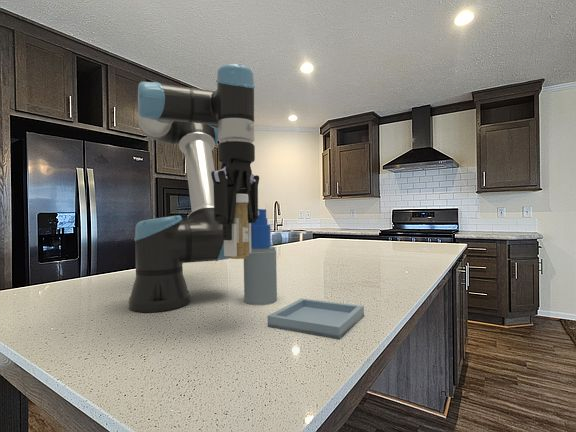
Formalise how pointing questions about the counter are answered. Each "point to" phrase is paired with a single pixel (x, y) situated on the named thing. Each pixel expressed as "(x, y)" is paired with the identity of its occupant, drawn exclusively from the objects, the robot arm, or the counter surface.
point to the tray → (317, 317)
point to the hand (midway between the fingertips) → (238, 254)
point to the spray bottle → (260, 265)
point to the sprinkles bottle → (241, 226)
